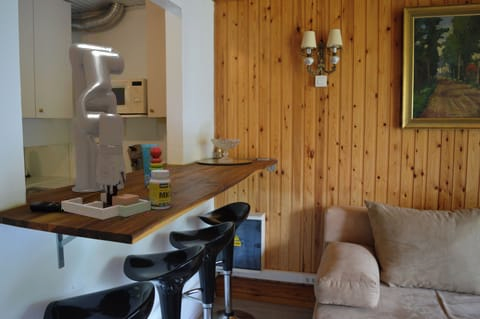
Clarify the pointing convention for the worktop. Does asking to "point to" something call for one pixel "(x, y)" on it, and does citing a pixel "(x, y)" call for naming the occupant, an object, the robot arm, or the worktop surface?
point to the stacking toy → (155, 161)
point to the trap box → (100, 213)
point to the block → (125, 200)
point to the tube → (147, 160)
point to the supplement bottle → (160, 189)
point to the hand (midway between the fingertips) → (112, 204)
